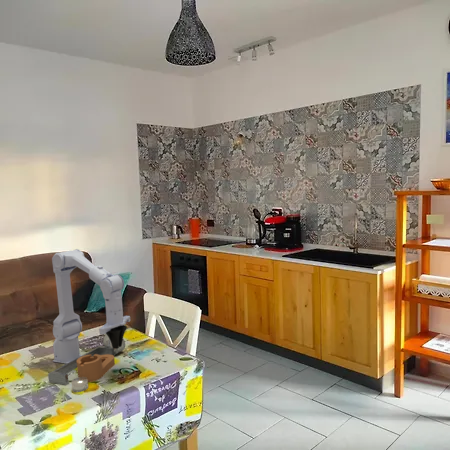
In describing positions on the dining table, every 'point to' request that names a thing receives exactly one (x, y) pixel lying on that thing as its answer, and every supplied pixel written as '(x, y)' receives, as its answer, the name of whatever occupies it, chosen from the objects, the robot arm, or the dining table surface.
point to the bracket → (94, 366)
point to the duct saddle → (60, 373)
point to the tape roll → (79, 384)
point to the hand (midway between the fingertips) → (117, 347)
